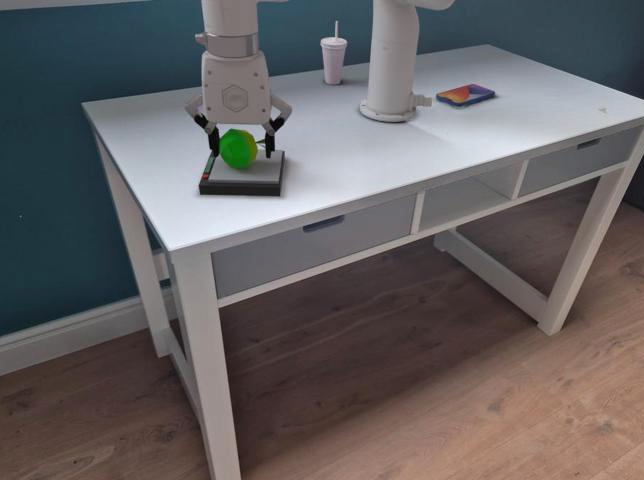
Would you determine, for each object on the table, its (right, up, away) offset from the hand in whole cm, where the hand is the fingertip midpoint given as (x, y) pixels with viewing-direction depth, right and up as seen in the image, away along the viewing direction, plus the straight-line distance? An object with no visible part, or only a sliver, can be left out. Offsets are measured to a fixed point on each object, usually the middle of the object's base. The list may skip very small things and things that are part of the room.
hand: (243, 153), depth 84 cm
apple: (0, -1, +1) cm, 2 cm away
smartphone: (+46, +22, +37) cm, 63 cm away
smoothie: (+14, +28, +41) cm, 52 cm away
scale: (0, -3, +3) cm, 4 cm away
